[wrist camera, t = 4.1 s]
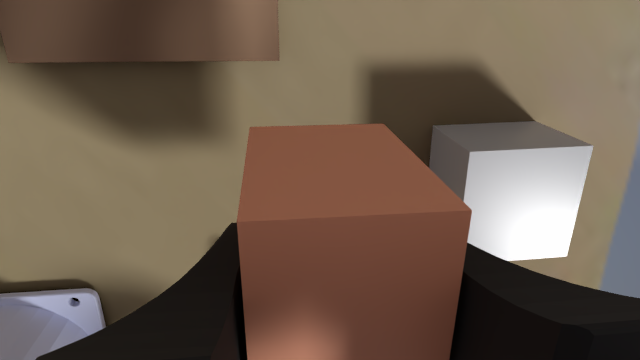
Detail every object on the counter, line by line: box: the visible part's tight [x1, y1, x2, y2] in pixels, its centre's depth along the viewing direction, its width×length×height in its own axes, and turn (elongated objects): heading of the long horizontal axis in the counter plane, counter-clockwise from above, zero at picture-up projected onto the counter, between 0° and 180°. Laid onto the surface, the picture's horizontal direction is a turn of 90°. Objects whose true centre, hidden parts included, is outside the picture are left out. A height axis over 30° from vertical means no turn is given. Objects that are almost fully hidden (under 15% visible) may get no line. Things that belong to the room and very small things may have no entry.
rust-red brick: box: [237, 124, 472, 360], centre depth 11 cm, size 4×6×6 cm, turn 179°
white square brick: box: [429, 121, 593, 261], centre depth 19 cm, size 5×5×4 cm
